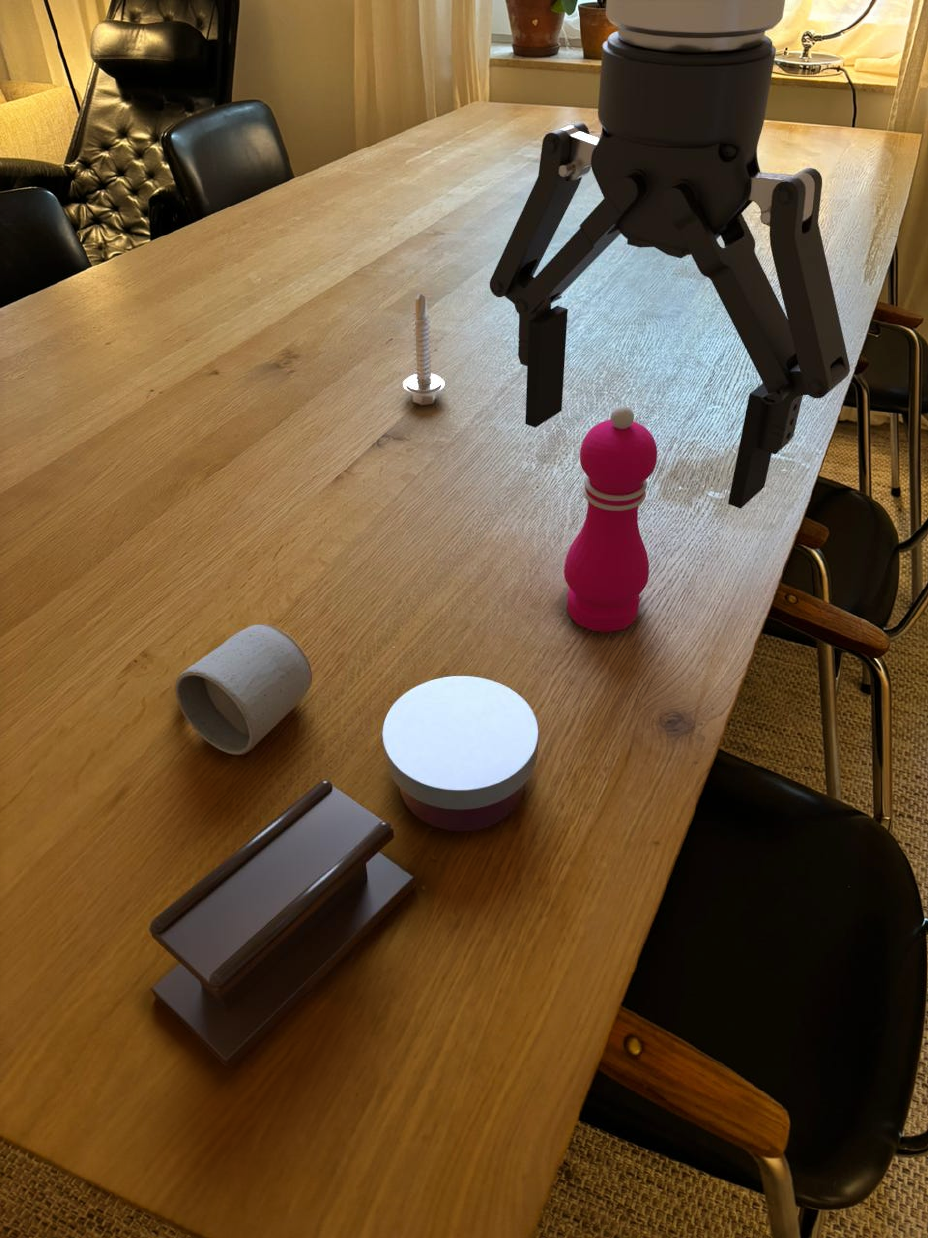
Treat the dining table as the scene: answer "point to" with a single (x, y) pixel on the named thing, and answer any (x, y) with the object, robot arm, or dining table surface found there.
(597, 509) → the pepper mill
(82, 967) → the dining table surface
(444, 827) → the plum stand
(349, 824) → the plate rack
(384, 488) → the dining table surface
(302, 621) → the dining table surface
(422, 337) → the screw
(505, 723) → the side plate
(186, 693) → the ceramic mug
